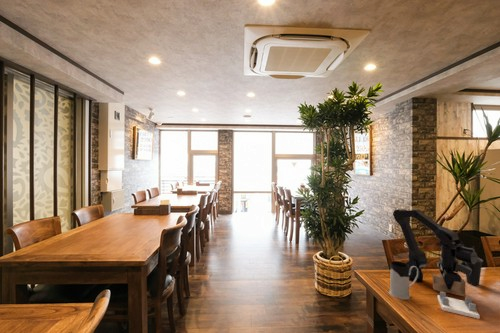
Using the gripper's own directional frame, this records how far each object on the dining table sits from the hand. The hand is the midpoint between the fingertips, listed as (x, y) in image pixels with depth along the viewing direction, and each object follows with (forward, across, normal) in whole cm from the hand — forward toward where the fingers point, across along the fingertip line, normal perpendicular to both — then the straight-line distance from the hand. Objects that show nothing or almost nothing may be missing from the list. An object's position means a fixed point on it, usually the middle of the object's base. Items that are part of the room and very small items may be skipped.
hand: (448, 287), depth 117 cm
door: (+2, 0, 0) cm, 2 cm away
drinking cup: (+3, +20, -14) cm, 25 cm away
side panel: (+3, -14, 0) cm, 14 cm away
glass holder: (+3, -12, +19) cm, 23 cm away
